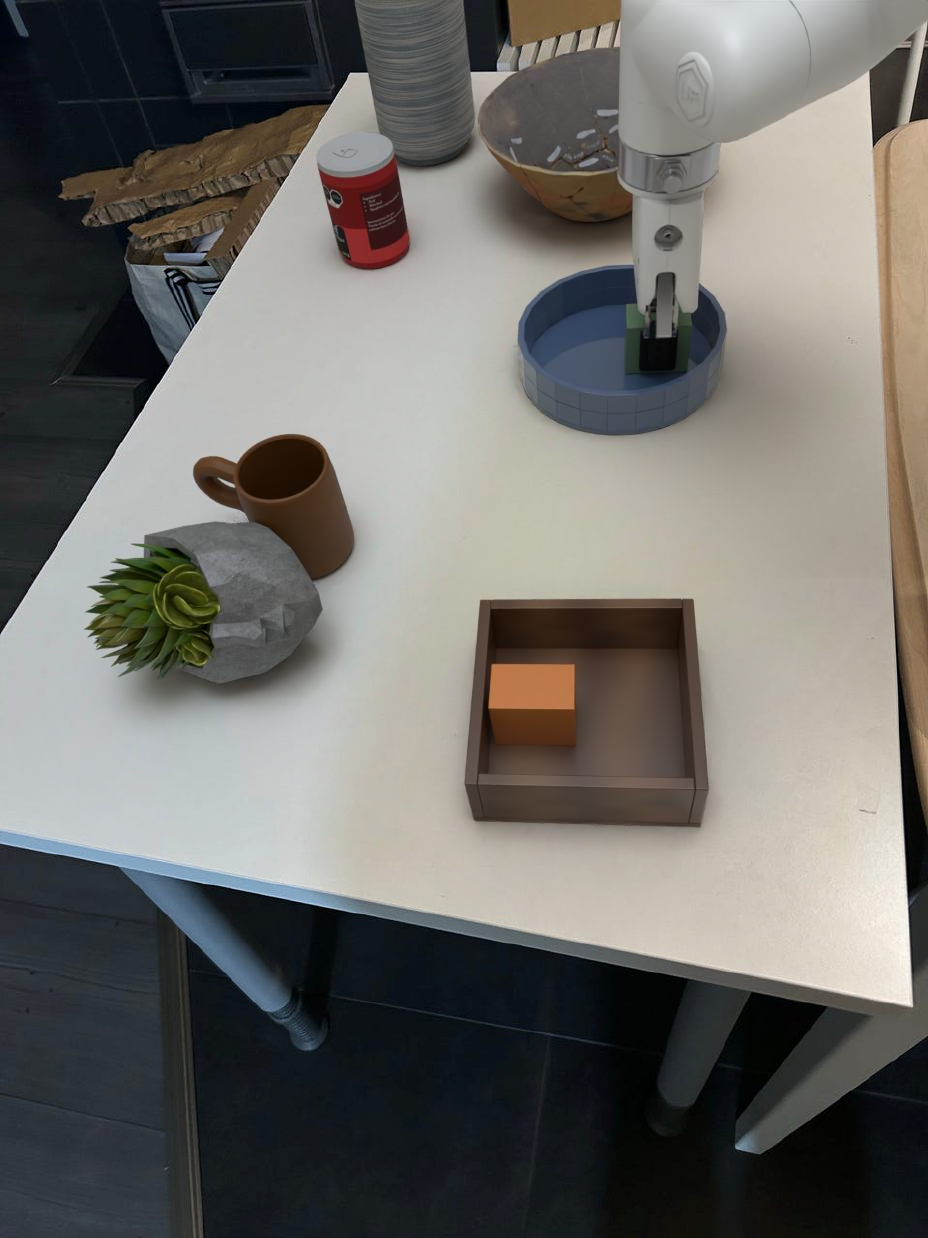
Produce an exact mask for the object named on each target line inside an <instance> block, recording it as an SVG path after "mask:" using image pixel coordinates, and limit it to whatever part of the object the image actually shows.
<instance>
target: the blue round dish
mask: <svg viewBox="0 0 928 1238" xmlns="http://www.w3.org/2000/svg"><path fill="white" fill-rule="evenodd" d="M626 304H637V295H636V286H635V275H634V263H632V264H614V265H613V264H611V265H602V266H598V267H594V268H588V269H584V270H580V271H577V272H575V273H573V274H570V275H568V276H565V277H562V278H560V279H557V280H556V281H555V282H553V283H552V284H550V285H549V286H547V287H545V288H544V289H542V290H540V291H539V292H538V293H537V294H536V295H535V297H533V299H532V300H531V301H530V302H529V303H528V304H527V305H526V306H525V309H524V310H523V312H522V314H521V316H520V318H519V321H518V325H517V326H518V327H517V351H518V362H519V363H518V364H519V374H520V379H521V382H522V387H523V389H524V391H525V393H526V396H527V397H528V399H529V400H530V401H531V403H532V404H533V405H534V406H535V407H536V408H537V409H538V410H539V411H540V412H542V413H543V414H544V415H546V416H547V417H548V418H550V419H552V420H553V421H554V422H557V423H558V424H561V425H564V426H566V427H568V428H571V429H574V430H578V431H581V432H584V433H585V432H586V433H591V434H597V435H608V436H614V435H615V436H626V435H627V436H628V435H636V434H637V435H638V434H642V433H643V434H644V433H649V432H652V431H656V430H659V429H664V428H665V427H668V426H671V425H674V424H676V423H678V422H680V421H682V420H683V419H685V418H687V417H689V416H691V415H692V414H694V413H695V412H696V411H697V410H699V408H701V407H702V406H703V405H704V404H706V402H707V400H709V399H710V397H712V394H713V393H714V391H715V389H716V388H717V385H718V383H719V380H720V376H721V372H722V368H723V362H724V355H725V349H726V348H725V347H726V341H727V335H728V334H727V333H728V326H727V318H726V312H725V311H724V309H723V307H722V306H721V303H720V302H719V301H718V299H717V297H716V296H715V295H714V294H713V293H712V292H711V291H709V290H708V289H707V288H706V287H705V286H704V285H703V284H702V283H700V282H699V291H698V307H697V309H696V310H695V311H694V312H693V313H691V321H692V329H691V339H690V349H689V359H688V369H687V371H683V372H659V373H634V374H626V373H625V321H626Z"/></svg>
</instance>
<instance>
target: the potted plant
mask: <svg viewBox="0 0 928 1238" xmlns="http://www.w3.org/2000/svg"><path fill="white" fill-rule="evenodd" d="M143 536H144V537H143V543H130V545H132V546H135V547H139V548H143V557H131V558H130V557H129V558H117V557H115V558H114V559H115V560H112V561H110V563H111V564H119V565H122V566H126V567H125V568H123V567H122V568H113V569H109V572H112V573H110V574H107V575H102V576H100V577H99V579H102V580H101V581H99V582H98V583H99V584H97V585H88V586H86V588H89V589H91V590H94V591H95V592H96V593H99V594H101V595H100V596H99V598H101V600H100V601H98V602H96V603H94V604H92V605H91V606H90V609H88V610H86V611H85V613H88V614H96V615H97V616H95V617H94V618H93V619H92V620H91V621H90V623H89V625H88V626H86V627H85V628H83V630H86V631H91V633H90V634H89V635H88V636H87V639H88V638H91V637H95V638H94V639H95V641H94V642H93V645H94V644H95V645H96V648H95V650H96V651H98V650H103V649H105V650H106V649H107V650H108V649H116V648H119V649H117V650H114V651H111V652H109V653H107V654H105V655H103V656H101V657H100V659H106V658H111V657H116V656H117V658H116V659H115V661H114V662H113V663H112V664H111V665H110V668H112V667H114V666H116V665H122V664H125V663H127V664H126V665H125V667H126V669H125V670H124V671H123V672H121V673H120V674H119V675H117V678H119V677H122V676H125V675H127V674H130V673H132V672H133V671H134V672H137V671H139V670H141V669H143V668H145V667H146V666H148V665H150V664H151V663H152V662H153V663H152V664H151V665H150V667H149V668H148V669H147V670H148V671H150V670H151V671H156V670H157V669H158V668H159V671H158V675H157V678H156V681H158V680H159V679H160V680H162V679H163V678H165V677H167V676H168V674H169V673H170V672H171V671H172V670H173V669H174V668H175V669H178V670H179V673H180V672H185V673H188V674H190V675H193V676H196V677H198V678H201V679H204V680H207V681H209V682H214V683H217V684H225V683H229V682H233V681H235V680H239V679H243V678H247V677H251V676H255V675H261V674H265V673H267V672H268V671H270V670H271V669H273V668H274V667H275V666H277V665H278V664H280V663H281V662H283V661H285V659H287V658H288V657H290V656H291V655H292V654H293V653H294V651H295V650H296V649H297V647H298V646H299V645H300V644H301V643H302V641H303V640H304V639H305V637H306V636H307V635H308V634H309V632H310V631H311V630H312V629H313V627H314V626H315V625H316V623H317V621H318V619H319V618H320V615H321V613H322V611H323V606H322V605H323V604H322V600H321V597H320V592H319V590H318V588H317V587H316V586H315V584H314V582H313V579H311V578H310V577H309V575H308V573H307V572H306V570H305V569H304V567H303V566H302V564H301V562H300V561H299V559H298V558H297V556H296V555H295V553H294V551H293V550H292V549H291V548H290V547H289V546H288V545H287V544H286V543H285V542H284V541H283V540H281V539H280V538H279V537H278V536H277V535H276V534H275V533H274V532H273V531H271V530H270V529H269V528H268V527H265V526H263V525H260V524H258V523H256V522H249V521H247V522H224V521H217V520H216V521H215V520H214V521H209V522H202V523H194V524H188V525H187V524H186V525H182V526H178V527H173V528H169V529H165V530H161V531H156V532H153V533H148V534H145V535H143ZM103 579H104V580H103ZM96 636H97V637H96ZM122 646H123V647H122ZM120 647H122V648H120Z"/></svg>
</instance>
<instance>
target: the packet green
mask: <svg viewBox="0 0 928 1238" xmlns="http://www.w3.org/2000/svg"><path fill="white" fill-rule="evenodd" d="M652 320H656V312H655V313H651V322H652ZM677 329H678V345H677V356H676V367H675V369H674V370H667V371H640V370H639V350H640V331H644V315H643V314H641V313H640V312H639V311H638V304H626V321H625V373H626V374H634V373H659V372H683V371H687V369H688V359H689V349H690V339H691V329H692V321H691V313H690V312H689V313H683V312H682V309H681V307H680V305H679V309H678V322H677Z"/></svg>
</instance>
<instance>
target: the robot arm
mask: <svg viewBox="0 0 928 1238" xmlns="http://www.w3.org/2000/svg"><path fill="white" fill-rule="evenodd" d="M927 22H928V0H620V21H619V23H620V25H619V26H620V27H619V28H620V29H619V47H620V72H619V125H618V132H619V134H618V180H619V183H620V185H622V187H623V188H624V189H625V190H627V191H628V192H630V193H632V194H633V210H632V211H631V213H632V214H631V215H632V220H631V221H632V222H631V225H632V226H631V231H632V232H631V234H632V236H631V238H632V240H631V241H632V242H631V243H632V259H633V260H632V261H633V262H632V264H633V265H634V275H635V286H636V295H637V304H638V311H639V312H640V313H641V314H643V315H644V331H640V350H639V370H640V371H667V370H674V369H675V367H676V356H677V345H678V329H677V322H678V309H679V305H680V307H681V309H682V312H683V313H689V312H690V313H693V312H694V311H695V310H696V309H697V307H698V291H699V283H700V273H701V262H702V260H701V259H702V246H703V230H704V214H705V213H704V212H705V211H704V210H705V209H704V207H705V190H707V189H708V188H709V187H711V186H712V185H713V184H714V182H716V180H717V178H718V175H719V169H720V160H721V152H722V151H721V150H722V144H729V143H733V142H736V141H740V140H742V139H745V138H747V137H749V136H750V135H753V134H754V133H757V132H759V131H761V130H763V129H765V128H767V127H769V126H771V125H773V124H775V123H777V122H779V121H781V120H783V119H785V118H786V117H788V116H789V115H791V114H793V113H795V112H796V111H797V112H798V111H799V110H801V109H803V108H805V107H807V106H809V105H811V104H813V103H815V102H817V101H819V100H820V99H822V98H825V97H827V96H829V95H831V94H834V93H835V92H837V91H839V90H841V89H844V88H845V87H847V86H849V85H850V84H852V83H854V82H855V81H857V80H858V79H860V78H861V77H863V76H864V75H866V74H867V73H868V72H869V71H871V70H872V69H873V68H874V67H876V66H877V65H878V64H879V63H881V62H882V61H883V60H884V59H886V58H887V57H888V56H889V55H890V54H891V53H893V51H895V50H896V49H897V48H898V47H900V46H901V45H902V44H903V43H904V42H905V41H906V40H907V39H909V37H911V36H912V35H913V34H914V33H916V32H917V31H918V30H919V29H920V28H922V27H923V26H924V24H926V23H927ZM655 312H656V320H652V322H651V313H655Z"/></svg>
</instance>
